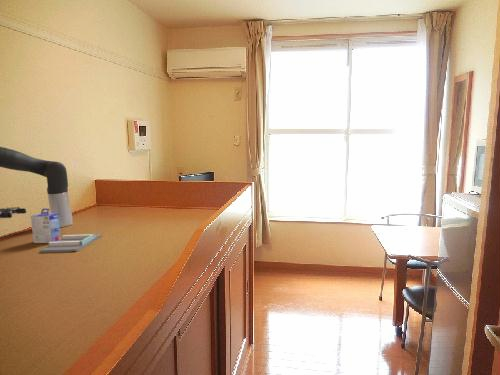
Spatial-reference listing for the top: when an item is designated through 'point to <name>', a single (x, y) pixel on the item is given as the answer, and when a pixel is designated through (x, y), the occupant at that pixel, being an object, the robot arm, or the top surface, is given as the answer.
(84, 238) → the rail plate
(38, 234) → the ink cartridge box
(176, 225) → the top surface
